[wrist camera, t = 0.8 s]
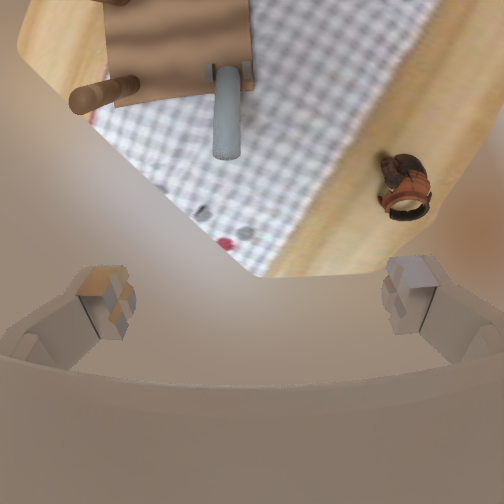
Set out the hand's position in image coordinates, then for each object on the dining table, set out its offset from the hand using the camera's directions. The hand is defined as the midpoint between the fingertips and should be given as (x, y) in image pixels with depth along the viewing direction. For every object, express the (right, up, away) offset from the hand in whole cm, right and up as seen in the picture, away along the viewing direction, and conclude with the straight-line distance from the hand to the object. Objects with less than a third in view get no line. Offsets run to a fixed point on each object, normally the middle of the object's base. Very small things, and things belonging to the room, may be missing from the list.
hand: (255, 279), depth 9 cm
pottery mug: (+23, +13, +37) cm, 46 cm away
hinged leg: (-3, +24, +26) cm, 35 cm away
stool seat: (-10, +31, +25) cm, 42 cm away
